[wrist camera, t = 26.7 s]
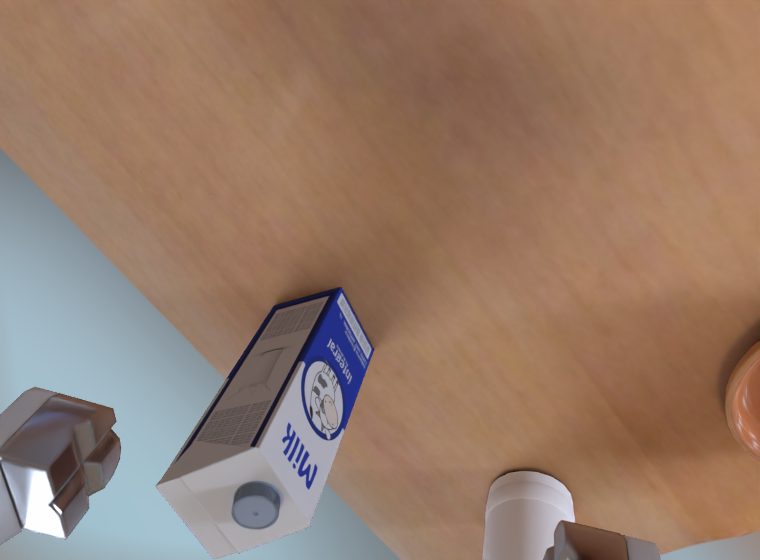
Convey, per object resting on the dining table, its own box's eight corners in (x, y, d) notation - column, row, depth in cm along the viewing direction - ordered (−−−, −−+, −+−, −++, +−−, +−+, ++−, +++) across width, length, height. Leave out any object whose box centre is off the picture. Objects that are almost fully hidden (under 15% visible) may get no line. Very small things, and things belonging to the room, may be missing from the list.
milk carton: (272, 303, 53) (151, 487, 37) (340, 284, 51) (243, 473, 34) (309, 366, 56) (213, 563, 40) (375, 351, 54) (301, 555, 37)
